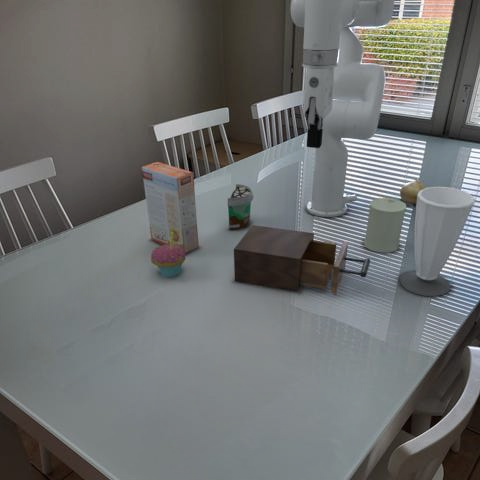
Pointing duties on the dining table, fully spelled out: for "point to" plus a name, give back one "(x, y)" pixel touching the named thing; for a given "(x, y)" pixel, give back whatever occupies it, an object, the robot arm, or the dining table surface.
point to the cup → (436, 237)
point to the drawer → (327, 265)
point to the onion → (411, 192)
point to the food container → (240, 207)
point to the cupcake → (168, 258)
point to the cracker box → (171, 205)
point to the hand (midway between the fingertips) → (314, 146)
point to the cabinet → (271, 257)
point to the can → (384, 224)
